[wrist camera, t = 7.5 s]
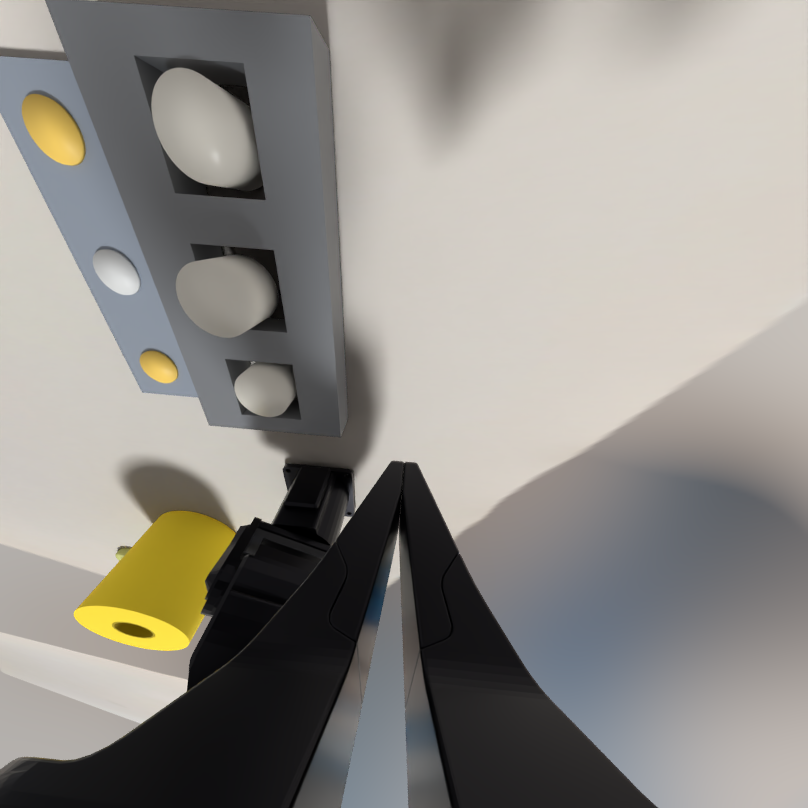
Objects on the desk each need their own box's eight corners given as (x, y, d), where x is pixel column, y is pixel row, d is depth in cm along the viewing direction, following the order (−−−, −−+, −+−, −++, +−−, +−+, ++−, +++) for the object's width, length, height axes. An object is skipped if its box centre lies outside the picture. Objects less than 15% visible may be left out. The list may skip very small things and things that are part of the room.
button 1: (278, 193, 15) (249, 188, 13) (212, 188, 15) (171, 181, 13) (264, 99, 13) (227, 70, 11) (189, 93, 13) (135, 64, 11)
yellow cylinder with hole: (188, 500, 31) (107, 596, 23) (258, 547, 35) (210, 642, 27) (140, 526, 34) (54, 618, 26) (209, 566, 38) (153, 655, 30)
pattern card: (206, 395, 23) (201, 399, 23) (146, 389, 23) (140, 393, 23) (86, 65, 13) (73, 59, 13) (-18, 58, 13) (-35, 52, 13)
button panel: (348, 417, 23) (340, 437, 21) (228, 407, 24) (209, 425, 21) (329, 50, 13) (310, 15, 10) (107, 34, 13) (43, -3, 11)
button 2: (307, 397, 22) (292, 419, 20) (262, 393, 23) (241, 414, 20) (301, 354, 21) (284, 373, 18) (252, 350, 21) (228, 368, 18)
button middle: (283, 323, 17) (258, 340, 15) (224, 318, 17) (190, 334, 15) (271, 257, 15) (242, 263, 13) (206, 251, 15) (163, 257, 13)
